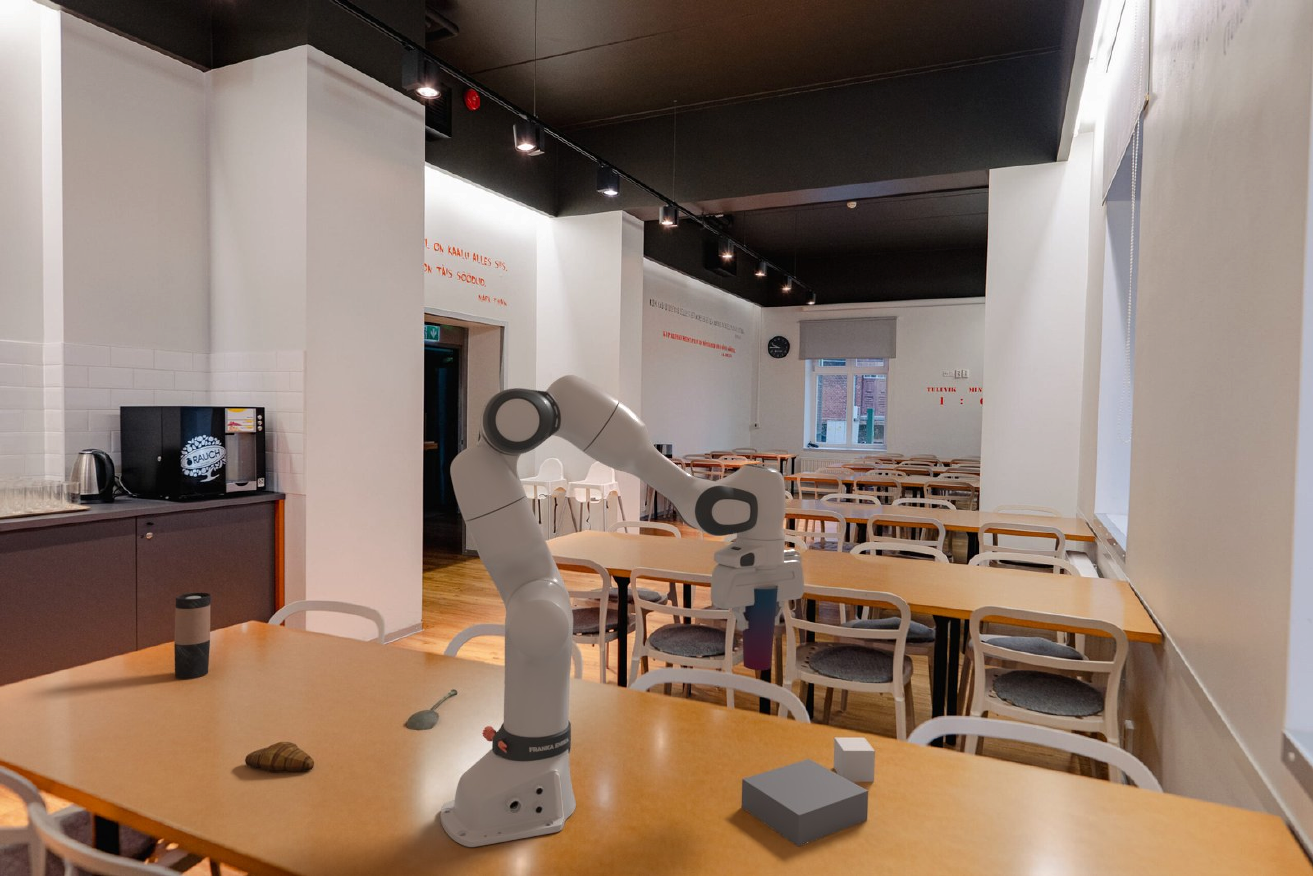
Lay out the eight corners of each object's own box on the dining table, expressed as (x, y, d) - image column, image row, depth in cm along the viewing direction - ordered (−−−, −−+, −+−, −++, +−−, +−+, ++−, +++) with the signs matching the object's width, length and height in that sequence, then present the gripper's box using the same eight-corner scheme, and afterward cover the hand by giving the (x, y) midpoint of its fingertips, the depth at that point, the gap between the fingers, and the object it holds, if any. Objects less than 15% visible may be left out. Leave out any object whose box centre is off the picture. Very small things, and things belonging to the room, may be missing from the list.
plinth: (798, 846, 117) (799, 815, 117) (741, 807, 129) (742, 779, 129) (867, 820, 126) (868, 790, 126) (808, 785, 137) (809, 758, 137)
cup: (775, 673, 133) (777, 590, 133) (737, 670, 134) (739, 587, 134) (776, 662, 140) (778, 582, 139) (740, 659, 141) (742, 580, 141)
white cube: (863, 768, 146) (864, 737, 146) (874, 782, 140) (875, 750, 140) (833, 767, 145) (834, 737, 145) (842, 782, 139) (843, 750, 139)
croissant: (323, 763, 141) (324, 737, 141) (301, 780, 134) (302, 753, 134) (259, 757, 143) (259, 731, 143) (234, 773, 136) (234, 746, 136)
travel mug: (215, 673, 188) (217, 595, 188) (183, 682, 182) (184, 600, 182) (199, 668, 192) (201, 591, 192) (167, 675, 186) (169, 596, 186)
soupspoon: (400, 734, 157) (429, 738, 157) (401, 719, 157) (430, 722, 157) (441, 694, 179) (467, 697, 179) (442, 680, 179) (468, 683, 178)
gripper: (789, 546, 145) (787, 616, 145) (706, 553, 134) (704, 630, 134) (812, 551, 140) (810, 624, 140) (728, 559, 128) (726, 638, 129)
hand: (758, 627), depth 137 cm, fingers closed on cup, 6 cm apart
